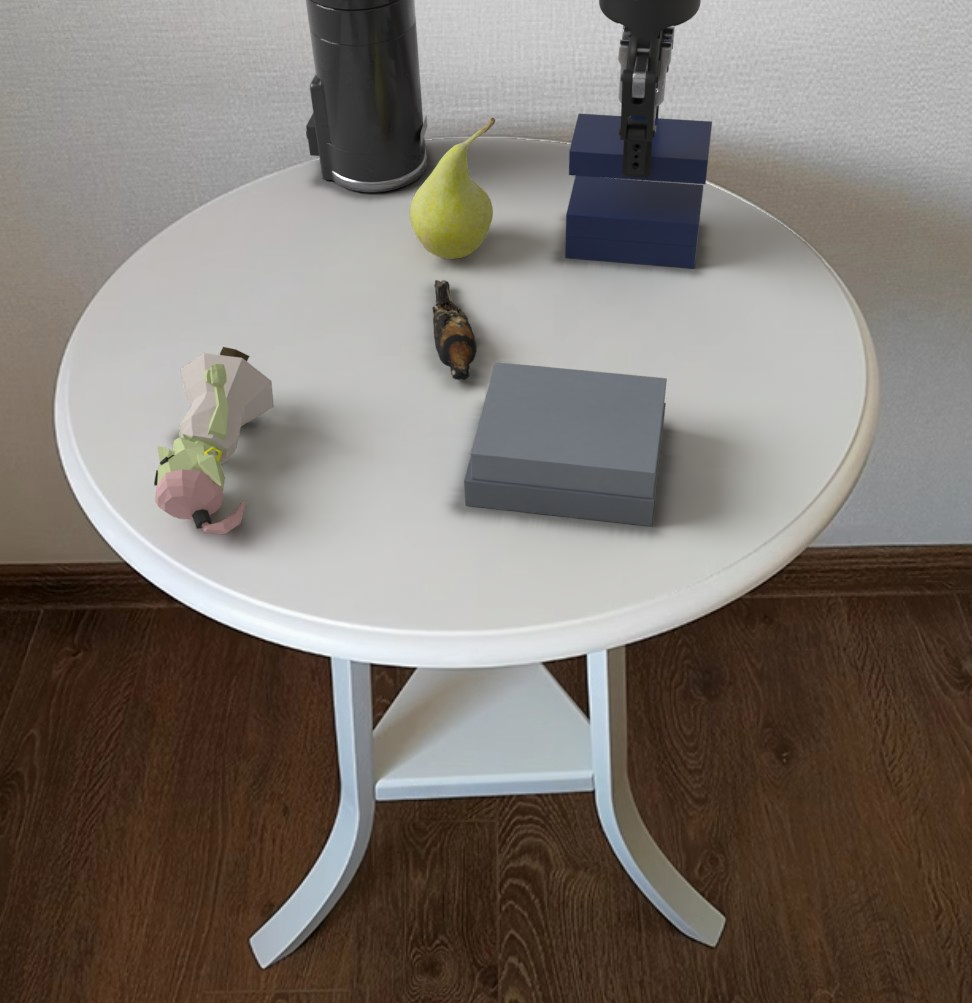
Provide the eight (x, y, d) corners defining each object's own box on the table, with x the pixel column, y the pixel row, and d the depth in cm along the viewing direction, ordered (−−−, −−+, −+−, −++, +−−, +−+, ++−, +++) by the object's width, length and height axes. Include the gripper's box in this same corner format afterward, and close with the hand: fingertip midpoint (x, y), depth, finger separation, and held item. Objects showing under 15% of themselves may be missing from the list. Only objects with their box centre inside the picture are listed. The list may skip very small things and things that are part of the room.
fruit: (405, 236, 110) (394, 111, 101) (486, 220, 111) (482, 96, 102) (425, 279, 105) (415, 153, 97) (509, 262, 107) (507, 136, 98)
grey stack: (465, 505, 87) (462, 454, 83) (490, 410, 94) (488, 359, 90) (651, 526, 85) (656, 475, 82) (663, 427, 92) (668, 376, 88)
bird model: (440, 395, 95) (437, 368, 93) (428, 289, 104) (426, 263, 102) (481, 391, 95) (480, 365, 93) (466, 286, 105) (465, 259, 103)
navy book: (705, 184, 99) (708, 160, 98) (568, 175, 101) (568, 151, 99) (709, 145, 103) (712, 121, 102) (577, 137, 105) (578, 113, 103)
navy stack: (694, 268, 105) (699, 224, 102) (564, 258, 107) (565, 214, 104) (698, 228, 109) (703, 184, 106) (573, 218, 111) (575, 175, 108)
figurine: (205, 308, 89) (144, 466, 79) (302, 349, 91) (254, 508, 81) (174, 381, 95) (114, 536, 85) (265, 418, 97) (217, 573, 87)
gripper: (611, -96, 95) (603, 106, 107) (589, -14, 85) (583, 198, 97) (711, -93, 94) (691, 111, 106) (699, -9, 84) (679, 205, 96)
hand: (639, 152), depth 102 cm, fingers closed on navy book, 6 cm apart
